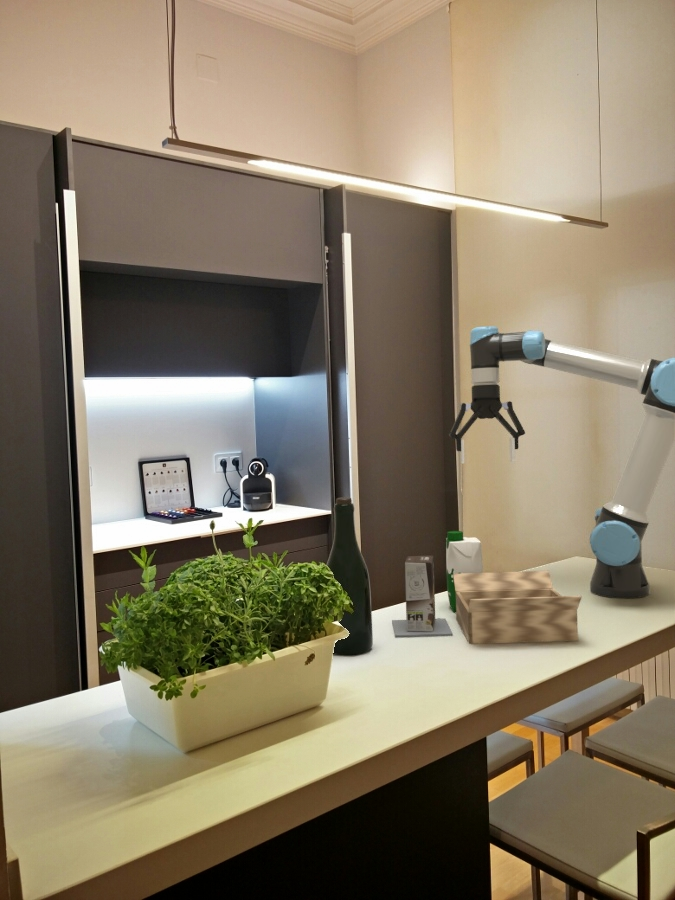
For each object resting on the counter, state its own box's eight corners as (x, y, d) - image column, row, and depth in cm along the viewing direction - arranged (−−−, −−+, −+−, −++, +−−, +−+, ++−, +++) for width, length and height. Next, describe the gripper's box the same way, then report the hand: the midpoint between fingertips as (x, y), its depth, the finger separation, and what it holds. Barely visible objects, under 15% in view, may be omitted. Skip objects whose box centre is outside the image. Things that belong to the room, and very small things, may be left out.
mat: (445, 620, 184) (445, 618, 184) (452, 635, 171) (452, 633, 171) (392, 622, 184) (392, 620, 184) (395, 637, 171) (395, 635, 171)
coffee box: (434, 632, 172) (432, 562, 171) (406, 631, 173) (403, 562, 173) (436, 621, 181) (434, 554, 180) (409, 621, 182) (407, 554, 182)
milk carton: (445, 605, 198) (443, 529, 198) (480, 604, 198) (478, 528, 197) (450, 613, 190) (447, 534, 189) (486, 612, 189) (484, 533, 189)
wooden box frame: (549, 613, 187) (548, 570, 187) (582, 645, 160) (581, 595, 160) (454, 615, 187) (453, 573, 187) (471, 648, 161) (470, 599, 160)
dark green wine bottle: (372, 656, 158) (367, 499, 157) (322, 656, 159) (317, 500, 157) (373, 641, 168) (368, 494, 167) (326, 642, 169) (321, 495, 168)
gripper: (528, 383, 208) (530, 460, 209) (437, 386, 208) (440, 463, 209) (535, 382, 200) (537, 461, 201) (441, 385, 201) (443, 464, 202)
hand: (487, 462), depth 205 cm, fingers open, 13 cm apart
